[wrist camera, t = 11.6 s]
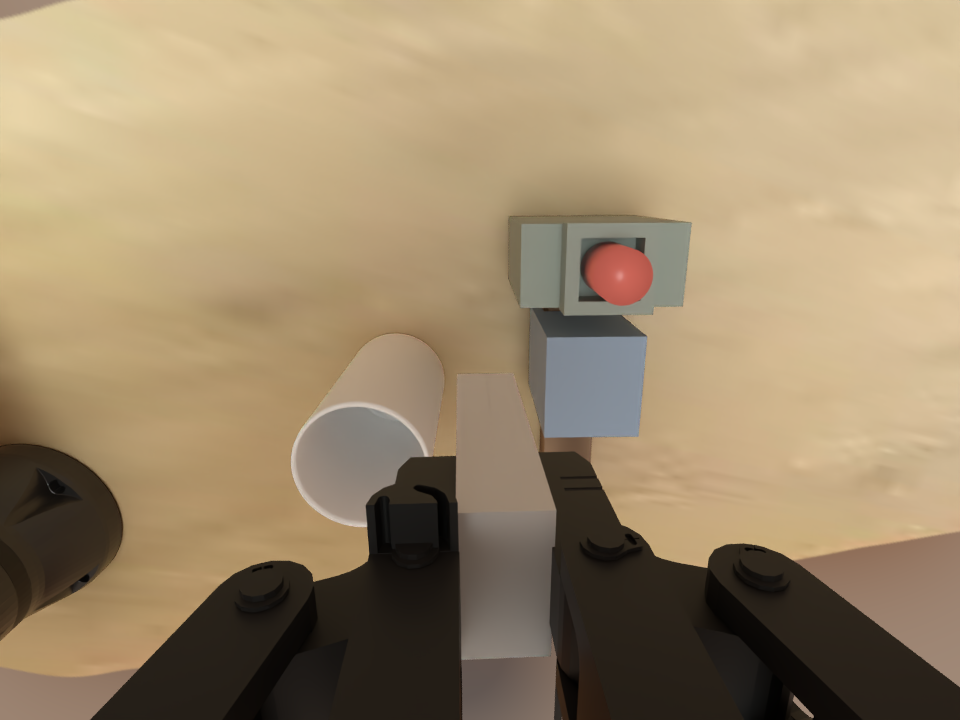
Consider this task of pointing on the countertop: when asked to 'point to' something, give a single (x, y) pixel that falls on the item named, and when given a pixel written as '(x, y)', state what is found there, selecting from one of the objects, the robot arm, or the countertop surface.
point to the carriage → (586, 374)
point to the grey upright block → (565, 240)
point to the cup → (369, 426)
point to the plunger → (617, 273)
